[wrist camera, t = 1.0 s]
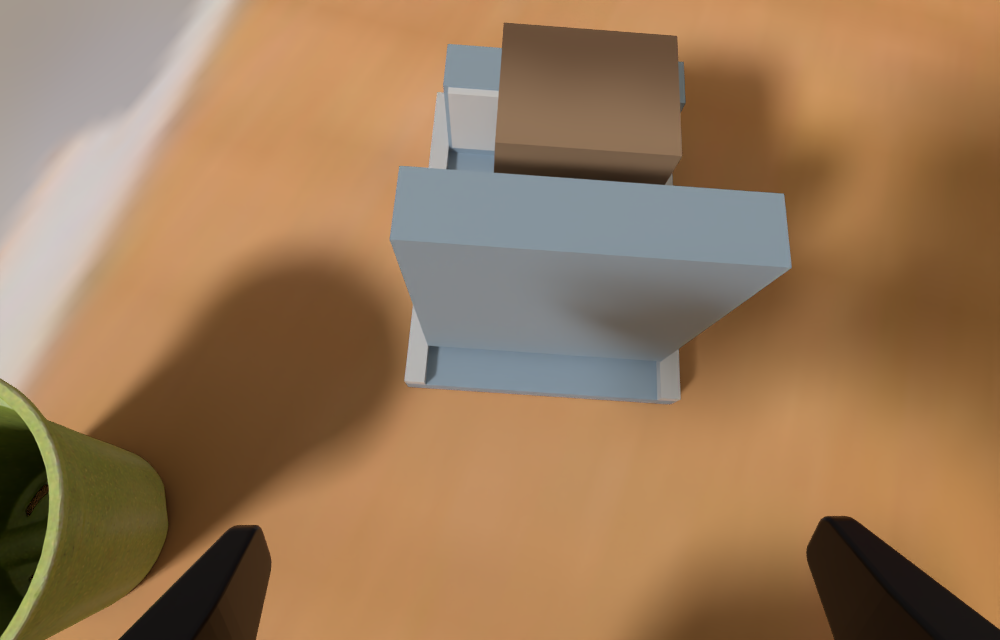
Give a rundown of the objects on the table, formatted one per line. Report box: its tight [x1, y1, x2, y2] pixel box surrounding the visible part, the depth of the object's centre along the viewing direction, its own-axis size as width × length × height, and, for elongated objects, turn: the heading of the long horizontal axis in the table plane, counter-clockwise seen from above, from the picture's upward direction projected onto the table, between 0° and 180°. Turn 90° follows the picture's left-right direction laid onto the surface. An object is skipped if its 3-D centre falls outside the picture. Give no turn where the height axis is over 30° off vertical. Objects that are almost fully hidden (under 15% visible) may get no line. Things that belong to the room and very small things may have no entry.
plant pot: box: [0, 379, 168, 640], centre depth 17 cm, size 9×9×9 cm
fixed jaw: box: [443, 44, 686, 155], centre depth 24 cm, size 2×10×4 cm, turn 86°
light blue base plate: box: [404, 92, 681, 404], centre depth 25 cm, size 14×11×1 cm
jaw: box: [390, 166, 792, 362], centre depth 18 cm, size 2×10×10 cm, turn 87°
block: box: [494, 23, 682, 185], centre depth 20 cm, size 4×5×10 cm
